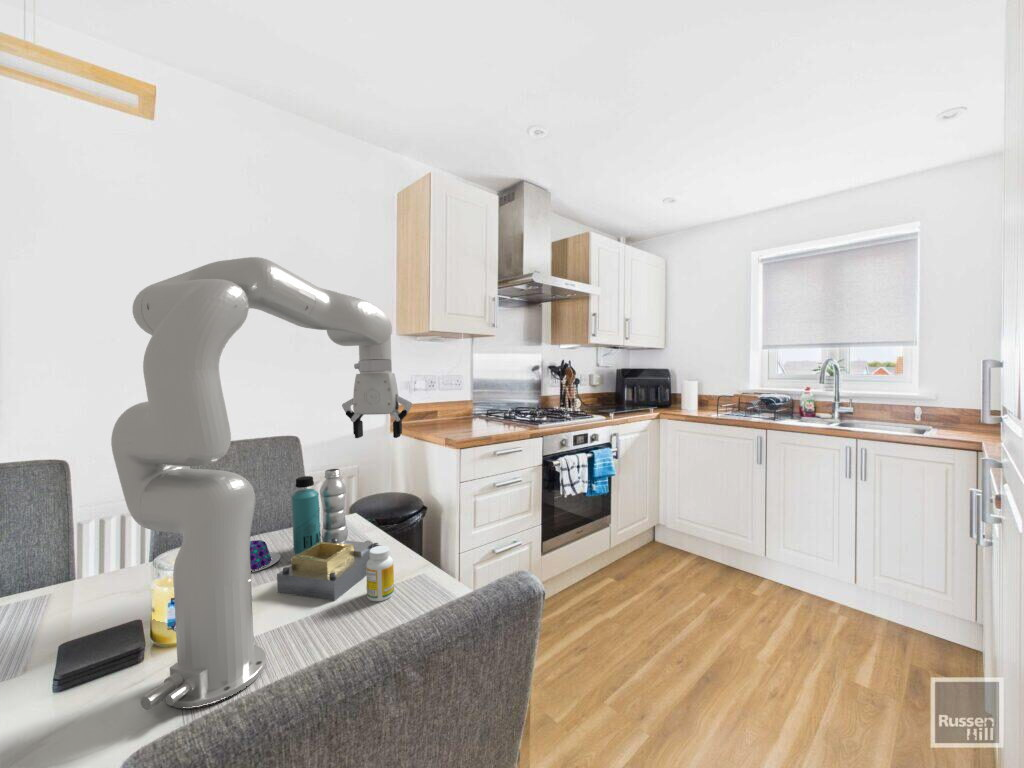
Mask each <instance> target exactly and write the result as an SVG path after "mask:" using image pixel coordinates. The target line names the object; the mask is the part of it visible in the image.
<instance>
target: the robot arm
mask: <svg viewBox="0 0 1024 768" xmlns="http://www.w3.org/2000/svg"><path fill="white" fill-rule="evenodd" d="M250 309H253V310H258V311H261V312H264V313H267V314H268V315H272V316H273V317H275V318H276V317H277V319H278V318H279V319H281V320H284V321H286V322H288V323H291V324H293V325H295V326H298V327H301V328H305V329H310V330H319V331H320V330H321V331H326V334H327V336H328V338H329V339H330V340H331V341H332V343H334V344H336V345H339V346H342V347H353V346H354V347H357V346H358V356H359V357H358V358H359V359H358V363H354V365H353V367H354V369H355V370H358V372H359V373H356V374H355V378H354V384H353V385H354V386H353V396H352V398H351V399H349V400H346V401H345V402H344V403H342V404H341V407H342V409H343V411H344V412H345V415H346V416H347V417H348V418H349V420H350V421H351V422H352V425H353V426H352V429H353V431H352V432H353V435H354V439H360V438H362V437H363V436H364V422H363V421H362V420H361V419H362V418H363V416H364V415H371V416H372V415H390V416H391V417H392V418H393V419H394V421H393V422H392V432H393V433H392V434H393V438H394V439H398V438H400V437H401V435H402V432H403V423H402V421H403V420H404V419H405V417H407V416H408V414H409V412H410V411H411V408H412V406H413V403H412V402H411V401H410V400H408V399H405V398H403V397H401V396H399V389H398V383H397V379H396V374H395V373H394V372H393V370H392V369H393V368H392V367H393V366H392V340H391V337H392V333H393V326H392V321H391V320H390V317H389V316H388V315H387V314H386V313H385V312H384V311H383V310H382V309H380V307H377V306H376V305H374V304H373V303H370V302H369V301H367V300H364V299H361V298H359V297H355V296H352V295H347V294H345V293H340V292H337V291H335V290H330V289H326V288H322V287H319V286H316V285H315V284H313V283H312V282H311V281H310V282H309V281H308V280H306V279H304V278H302V277H300V276H299V275H297V274H295V273H294V272H292V271H290V270H288V269H287V268H284V267H282V266H281V265H279V264H277V263H275V262H273V261H271V260H269V259H267V258H263V257H259V256H257V257H256V256H254V257H253V256H249V257H241V258H234V259H233V258H232V259H224V260H217V261H213V262H210V263H208V264H204V265H202V266H198V267H197V268H193V269H191V270H188V271H185V272H183V273H179V274H178V275H174V276H172V277H168V278H166V279H163V280H161V281H160V280H159V281H158V282H155V283H151V284H150V285H148V286H146V287H144V288H143V289H142V290H140V291H139V292H138V294H137V295H136V296H135V298H134V300H133V303H132V315H133V318H134V321H135V322H136V324H137V326H138V327H139V328H141V330H142V331H144V332H145V333H147V334H149V335H150V336H151V337H150V339H149V341H148V344H147V345H146V349H145V351H144V356H143V362H142V368H143V369H142V371H143V378H144V383H145V389H146V397H147V400H146V401H143V402H139V403H137V404H134V405H132V406H130V407H129V408H127V409H126V410H125V411H123V413H122V414H120V416H119V417H118V418H117V419H116V422H115V423H114V425H113V428H112V431H111V438H110V441H111V443H110V445H111V451H112V455H113V460H114V463H115V468H116V471H117V475H118V479H119V483H120V487H121V489H122V490H121V491H122V494H123V497H124V500H125V501H124V502H125V503H126V507H127V510H128V512H129V513H130V516H131V518H132V519H133V520H134V522H135V523H137V524H138V525H140V526H141V527H142V528H145V529H147V530H150V531H156V532H165V533H172V534H176V535H182V543H181V546H180V548H179V550H178V552H177V555H176V557H175V560H174V565H173V570H172V572H173V573H172V574H173V575H172V579H173V580H172V581H173V593H174V595H173V596H174V615H175V617H174V619H175V634H176V635H175V638H176V639H175V640H176V655H177V656H176V657H177V662H175V663H174V664H173V665H171V666H170V667H169V676H168V677H166V678H165V679H164V681H163V683H161V685H159V686H157V687H155V688H154V689H152V690H151V691H149V692H148V693H146V694H145V695H143V696H142V697H141V698H140V700H139V702H140V706H141V708H142V709H143V710H144V711H147V712H148V711H150V710H151V709H153V708H154V707H156V706H157V705H158V704H160V703H162V702H163V701H164V699H165V702H166V704H167V705H169V706H171V705H172V706H171V707H174V708H177V709H183V707H192V706H199V705H203V704H207V703H211V702H213V701H216V700H221V698H224V697H226V698H227V699H228V697H229V696H231V697H233V696H232V694H235V693H236V692H238V693H240V692H241V691H243V690H244V689H246V688H247V687H249V686H250V685H251V684H252V683H253V682H255V681H256V680H257V679H258V678H259V676H260V675H261V674H262V672H263V671H264V669H265V668H266V665H267V656H266V651H265V650H264V649H263V648H262V647H261V646H258V645H255V641H254V640H255V639H254V638H255V637H254V635H255V634H254V617H253V616H254V614H253V595H252V592H253V591H252V572H251V571H252V570H251V567H250V541H251V532H252V524H253V520H254V513H255V509H256V494H255V490H254V489H255V488H253V485H252V484H251V482H250V481H249V480H248V479H246V478H245V477H244V476H242V475H240V474H238V473H236V472H231V471H227V470H221V469H208V468H207V469H205V468H201V469H200V468H196V469H195V468H191V467H194V466H195V467H196V466H197V467H198V466H200V467H201V466H206V465H209V464H213V463H216V462H218V461H219V460H220V459H222V458H223V457H225V455H226V454H227V453H228V451H229V450H230V447H231V442H232V441H231V440H232V433H231V432H232V431H231V427H230V422H229V417H228V411H227V407H226V403H225V398H224V393H223V389H222V388H223V387H222V382H221V376H220V361H221V360H220V359H221V356H222V353H223V350H224V348H225V347H226V344H227V343H229V341H230V340H231V339H232V337H233V336H234V334H236V332H237V331H238V330H240V328H241V327H242V326H243V325H244V324H245V322H246V320H247V318H248V314H249V310H250ZM400 405H402V406H403V409H402V411H401V412H400V411H399V409H400ZM351 406H353V407H352V408H351ZM352 409H353V410H352ZM246 686H247V687H246ZM240 690H241V691H240ZM239 691H240V692H239ZM236 694H237V693H236ZM236 694H235V695H236ZM229 698H230V697H229Z"/></svg>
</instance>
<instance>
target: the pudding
mask: <svg viewBox="0 0 1024 768" xmlns="http://www.w3.org/2000/svg"><path fill="white" fill-rule="evenodd" d="M271 558H272V559H273V560H272V559H271ZM280 559H281V555H280V553H278V552H274V551H273V552H272V551H269V548H268V545H267V543H266V541H264V540H261V539H259V540H258V539H257V540H250V567H251V569H252V570H251V571H252V572H251V573H254V572H258V571H261V570H265V569H267V568H269V567H271V566H272V565H274V564H276V563H277V562H279V560H280ZM265 565H266V567H265ZM267 565H268V566H267ZM261 567H262V568H261ZM263 567H264V568H263ZM259 568H260V569H259ZM255 569H257V570H255ZM258 569H259V570H258ZM254 570H255V571H254Z"/></svg>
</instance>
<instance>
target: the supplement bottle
mask: <svg viewBox="0 0 1024 768" xmlns="http://www.w3.org/2000/svg"><path fill="white" fill-rule="evenodd" d="M390 549H391V548H390V547H389V545H388V546H387V545H383V546H376V547H373V548H372V549H370V552H369V557H370V559H369V560H368V562H367V564H366V576H365V577H366V597H367V599H368V601H371V602H383V601H386V600H388V599H390V598H391V597H392V596H393V595H394V593H395V582H394V581H395V580H394V579H395V578H394V577H395V576H394V575H395V574H394V570H395V569H394V560H393V558H392V557H391V556H390V555H391V550H390Z"/></svg>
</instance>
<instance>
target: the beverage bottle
mask: <svg viewBox="0 0 1024 768" xmlns="http://www.w3.org/2000/svg"><path fill="white" fill-rule="evenodd" d="M314 485H315V482H314V477H313V476H311V475H305V476H299V477H297V478H295V488H299V490H296V491H295V492H294V493H293V494H292V496H291V497H290V498H291V508H292V509H291V511H292V513H291V514H292V542H293V544H292V545H293V552H294V555H297V554H299V553H301V552H303V551H304V550H306V549H308V548H310V547H311V546H313V545H315V544H317V543H319V542H322V537H321V536H322V533H321V522H320V521H321V517H320V514H321V512H320V502H319V501H320V498H319V497H320V496H319V495H320V492H318V491H317V490H316V489H314V488H309V487H312V486H314ZM300 488H301V489H300Z"/></svg>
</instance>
